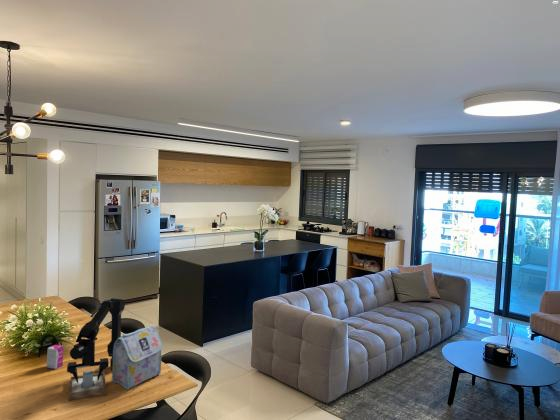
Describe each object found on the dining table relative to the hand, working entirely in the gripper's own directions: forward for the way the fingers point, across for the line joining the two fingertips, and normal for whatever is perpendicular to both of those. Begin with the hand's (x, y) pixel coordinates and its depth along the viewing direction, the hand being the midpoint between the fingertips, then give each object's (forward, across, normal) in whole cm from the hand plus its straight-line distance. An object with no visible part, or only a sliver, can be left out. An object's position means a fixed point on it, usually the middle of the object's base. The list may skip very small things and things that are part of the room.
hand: (87, 381), depth 206 cm
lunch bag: (+4, -24, -3) cm, 25 cm away
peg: (+3, 0, 0) cm, 3 cm away
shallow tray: (+4, 0, 0) cm, 4 cm away
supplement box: (+4, +17, -32) cm, 36 cm away
